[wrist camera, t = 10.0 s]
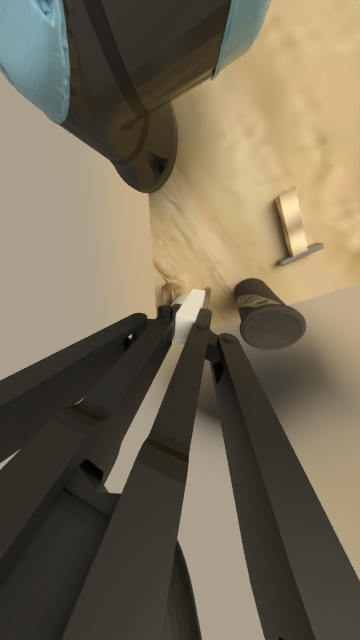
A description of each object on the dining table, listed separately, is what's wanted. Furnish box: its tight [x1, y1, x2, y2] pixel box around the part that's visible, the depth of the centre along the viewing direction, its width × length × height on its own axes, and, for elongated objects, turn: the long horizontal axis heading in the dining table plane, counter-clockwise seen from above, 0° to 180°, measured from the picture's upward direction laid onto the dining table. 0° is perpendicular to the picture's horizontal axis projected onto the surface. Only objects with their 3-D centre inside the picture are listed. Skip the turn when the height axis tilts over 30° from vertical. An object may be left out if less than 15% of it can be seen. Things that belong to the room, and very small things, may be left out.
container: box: [235, 278, 306, 350], centre depth 28 cm, size 9×9×20 cm
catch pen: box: [162, 283, 211, 310], centre depth 42 cm, size 14×14×5 cm
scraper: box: [275, 186, 323, 266], centre depth 26 cm, size 13×7×2 cm, turn 33°
